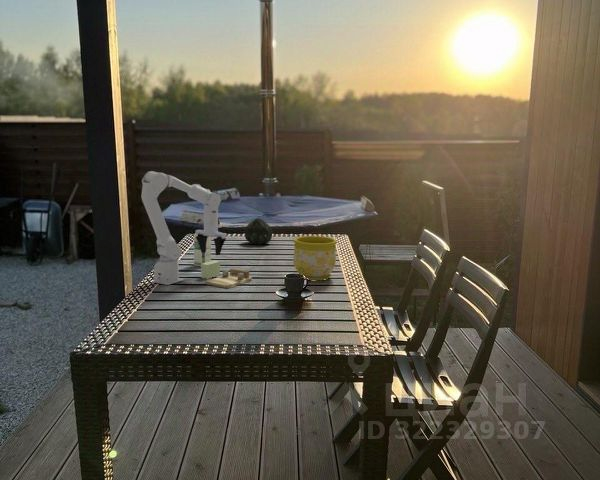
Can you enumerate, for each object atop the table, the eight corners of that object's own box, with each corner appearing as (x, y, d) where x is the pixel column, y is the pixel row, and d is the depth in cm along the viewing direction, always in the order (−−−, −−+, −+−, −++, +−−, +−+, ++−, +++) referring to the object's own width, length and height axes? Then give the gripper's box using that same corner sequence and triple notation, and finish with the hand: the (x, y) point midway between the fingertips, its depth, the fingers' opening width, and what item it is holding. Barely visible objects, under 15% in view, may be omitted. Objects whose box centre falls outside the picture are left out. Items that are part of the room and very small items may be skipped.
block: (207, 279, 241) (207, 264, 240) (201, 277, 243) (201, 263, 242) (219, 275, 248) (219, 261, 247) (213, 274, 250) (213, 260, 248)
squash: (264, 230, 331) (250, 211, 322) (281, 235, 321) (268, 216, 312) (248, 248, 326) (234, 230, 317) (265, 254, 315) (251, 235, 306)
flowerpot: (327, 285, 236) (329, 245, 233) (286, 280, 242) (287, 241, 240) (340, 275, 253) (342, 238, 250) (301, 271, 259) (302, 234, 256)
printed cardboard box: (193, 265, 264) (193, 233, 261) (201, 263, 269) (201, 232, 266) (203, 267, 261) (203, 235, 259) (211, 264, 266) (211, 233, 264)
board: (228, 288, 227) (228, 279, 227) (205, 284, 233) (205, 275, 232) (251, 280, 241) (252, 271, 240) (230, 276, 246) (230, 267, 246)
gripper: (230, 222, 242) (230, 254, 245) (203, 218, 249) (203, 250, 252) (220, 224, 236) (220, 257, 239) (192, 220, 243) (192, 252, 246)
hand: (210, 253), depth 245 cm, fingers open, 7 cm apart
